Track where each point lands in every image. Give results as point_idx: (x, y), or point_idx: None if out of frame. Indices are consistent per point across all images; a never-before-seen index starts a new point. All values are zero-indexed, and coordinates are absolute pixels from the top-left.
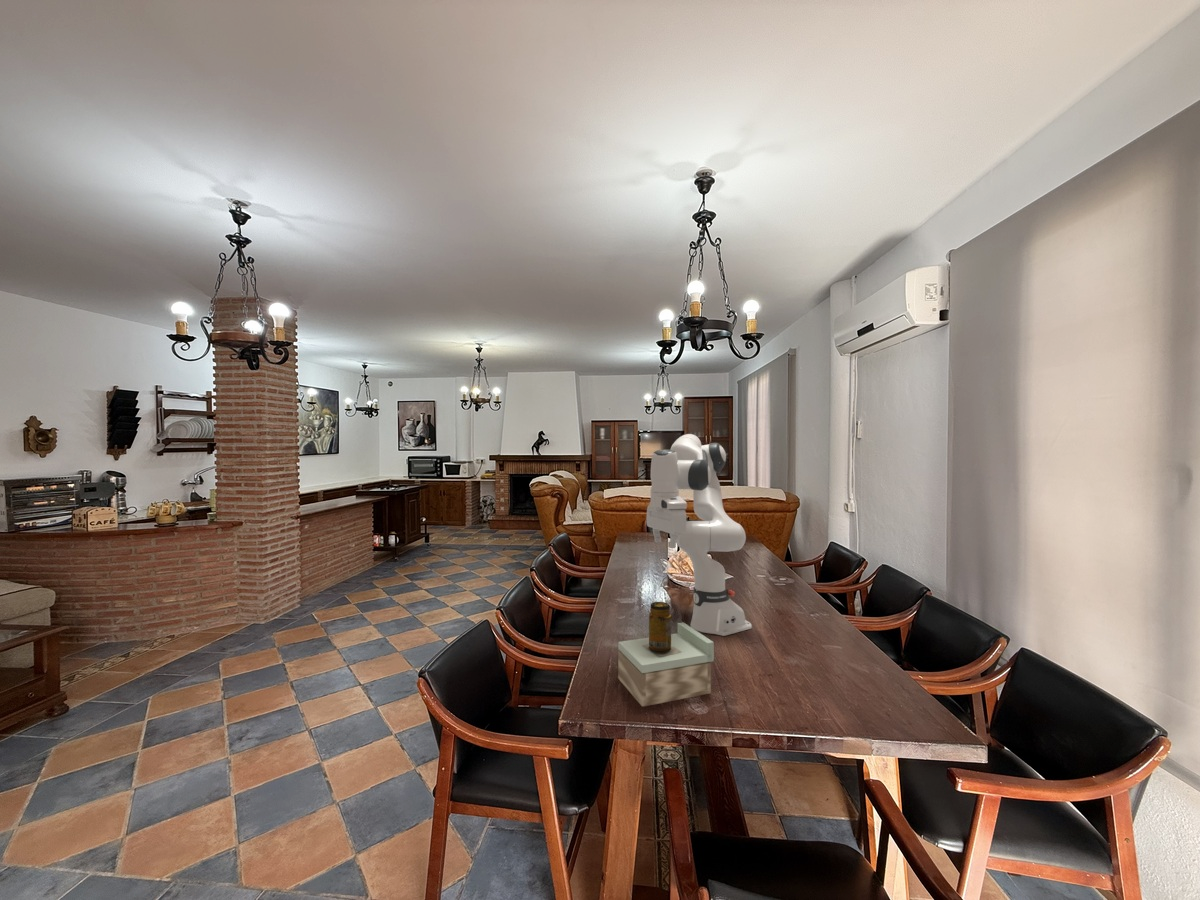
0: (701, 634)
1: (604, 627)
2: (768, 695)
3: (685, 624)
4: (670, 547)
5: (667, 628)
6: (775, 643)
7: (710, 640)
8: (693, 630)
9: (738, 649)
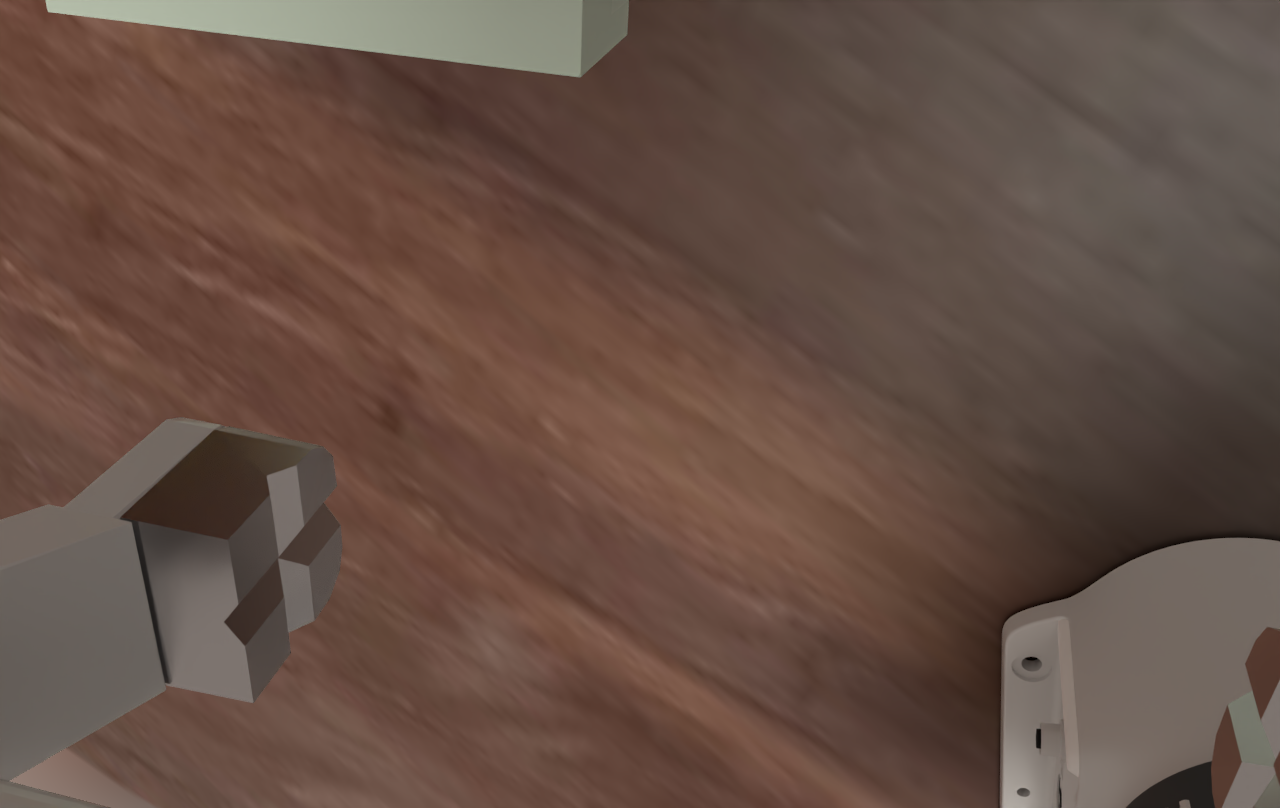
0: (231, 29)
1: None
2: (183, 224)
3: (516, 56)
4: (187, 418)
5: None
6: (732, 760)
7: (87, 10)
8: (342, 24)
9: (764, 533)
